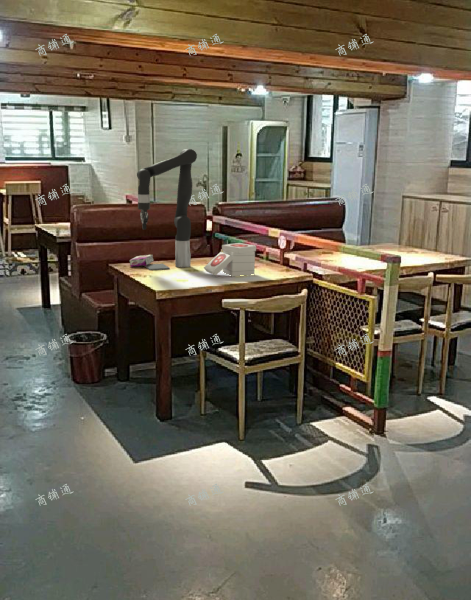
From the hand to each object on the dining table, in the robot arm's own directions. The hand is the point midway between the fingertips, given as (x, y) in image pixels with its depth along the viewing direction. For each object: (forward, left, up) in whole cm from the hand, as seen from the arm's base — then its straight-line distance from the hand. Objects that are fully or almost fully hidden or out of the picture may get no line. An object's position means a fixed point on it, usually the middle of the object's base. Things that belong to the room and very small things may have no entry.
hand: (144, 229), depth 396 cm
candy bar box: (+4, -3, -22) cm, 22 cm away
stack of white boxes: (-45, +35, -25) cm, 63 cm away
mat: (-8, 0, -25) cm, 26 cm away
